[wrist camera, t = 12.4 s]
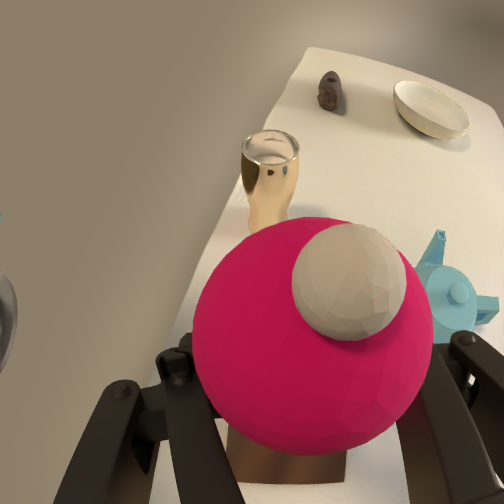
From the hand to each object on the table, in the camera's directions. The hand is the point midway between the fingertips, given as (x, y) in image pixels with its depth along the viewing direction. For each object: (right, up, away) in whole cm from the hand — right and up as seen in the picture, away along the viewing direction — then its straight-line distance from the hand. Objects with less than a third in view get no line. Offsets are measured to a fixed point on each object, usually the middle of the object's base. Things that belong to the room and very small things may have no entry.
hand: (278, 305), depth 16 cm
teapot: (+22, -7, +21) cm, 31 cm away
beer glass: (+1, +7, +30) cm, 31 cm away
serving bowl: (+41, +34, +45) cm, 70 cm away
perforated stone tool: (+17, +39, +49) cm, 65 cm away
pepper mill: (+1, -7, +5) cm, 9 cm away
